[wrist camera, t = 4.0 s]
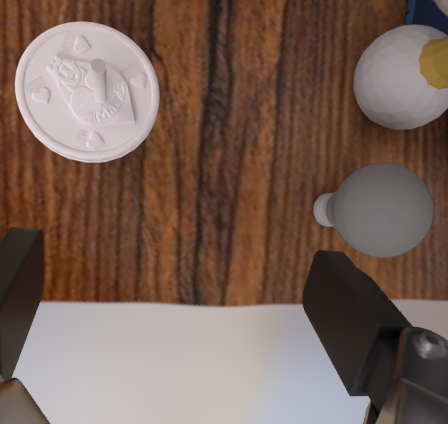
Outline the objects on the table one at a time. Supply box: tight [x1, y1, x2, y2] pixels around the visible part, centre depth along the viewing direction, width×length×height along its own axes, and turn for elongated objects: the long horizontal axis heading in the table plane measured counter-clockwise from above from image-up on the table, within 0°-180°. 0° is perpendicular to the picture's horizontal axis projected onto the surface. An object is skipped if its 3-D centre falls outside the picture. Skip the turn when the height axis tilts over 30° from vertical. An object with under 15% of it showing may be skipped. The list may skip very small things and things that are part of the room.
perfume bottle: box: [353, 0, 448, 130], centre depth 28 cm, size 8×10×12 cm
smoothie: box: [15, 22, 159, 162], centre depth 21 cm, size 6×6×14 cm
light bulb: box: [314, 163, 434, 258], centre depth 28 cm, size 6×6×10 cm
